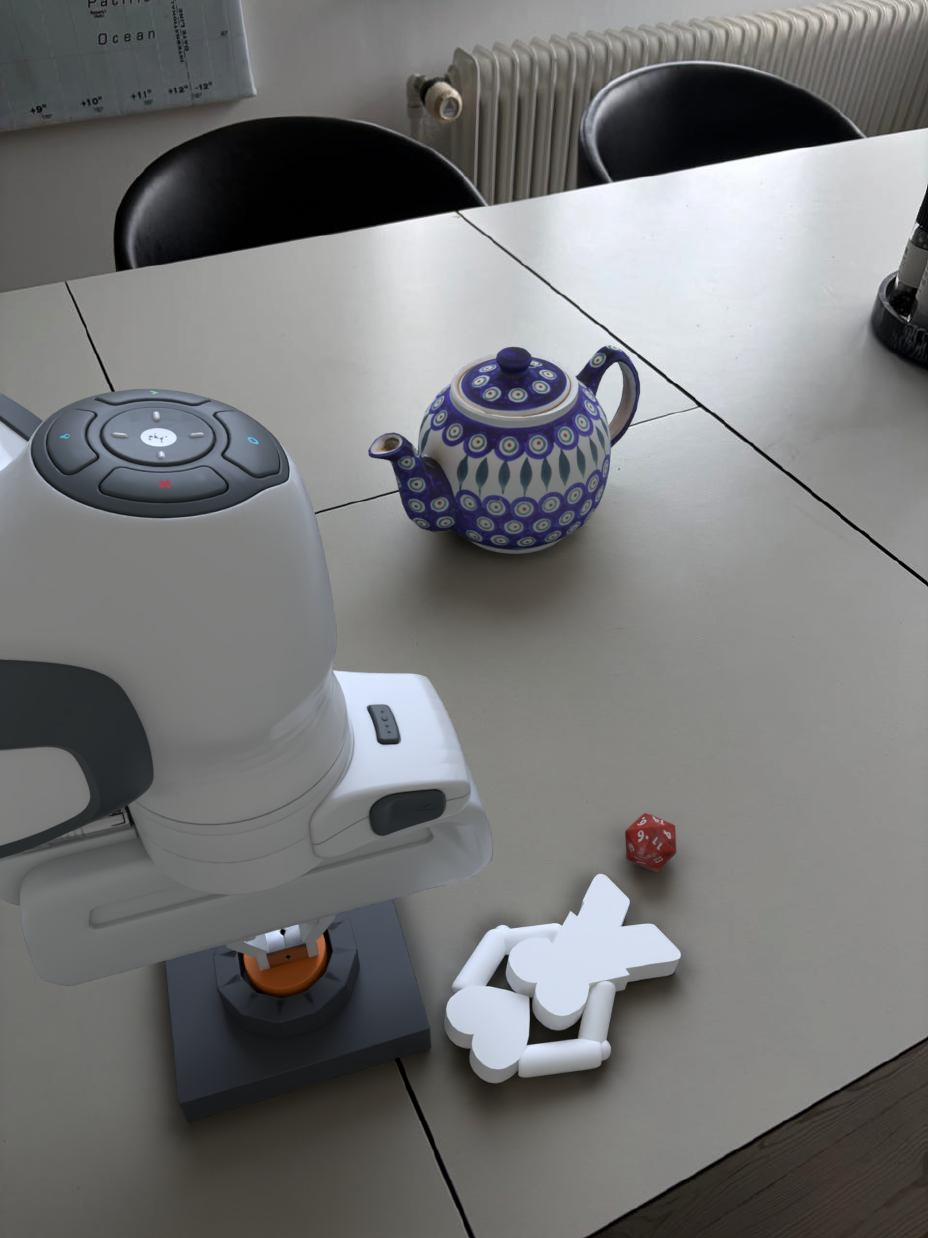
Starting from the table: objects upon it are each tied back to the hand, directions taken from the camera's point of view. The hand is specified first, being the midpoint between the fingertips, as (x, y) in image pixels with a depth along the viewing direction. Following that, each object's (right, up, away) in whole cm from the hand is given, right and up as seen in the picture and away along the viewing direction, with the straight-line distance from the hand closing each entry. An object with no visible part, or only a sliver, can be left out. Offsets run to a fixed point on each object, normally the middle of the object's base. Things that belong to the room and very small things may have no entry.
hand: (287, 950), depth 49 cm
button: (0, -1, +1) cm, 2 cm away
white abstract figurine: (+13, -3, +3) cm, 14 cm away
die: (+19, +2, +9) cm, 21 cm away
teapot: (+12, +25, +33) cm, 43 cm away
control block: (0, -3, +3) cm, 4 cm away
